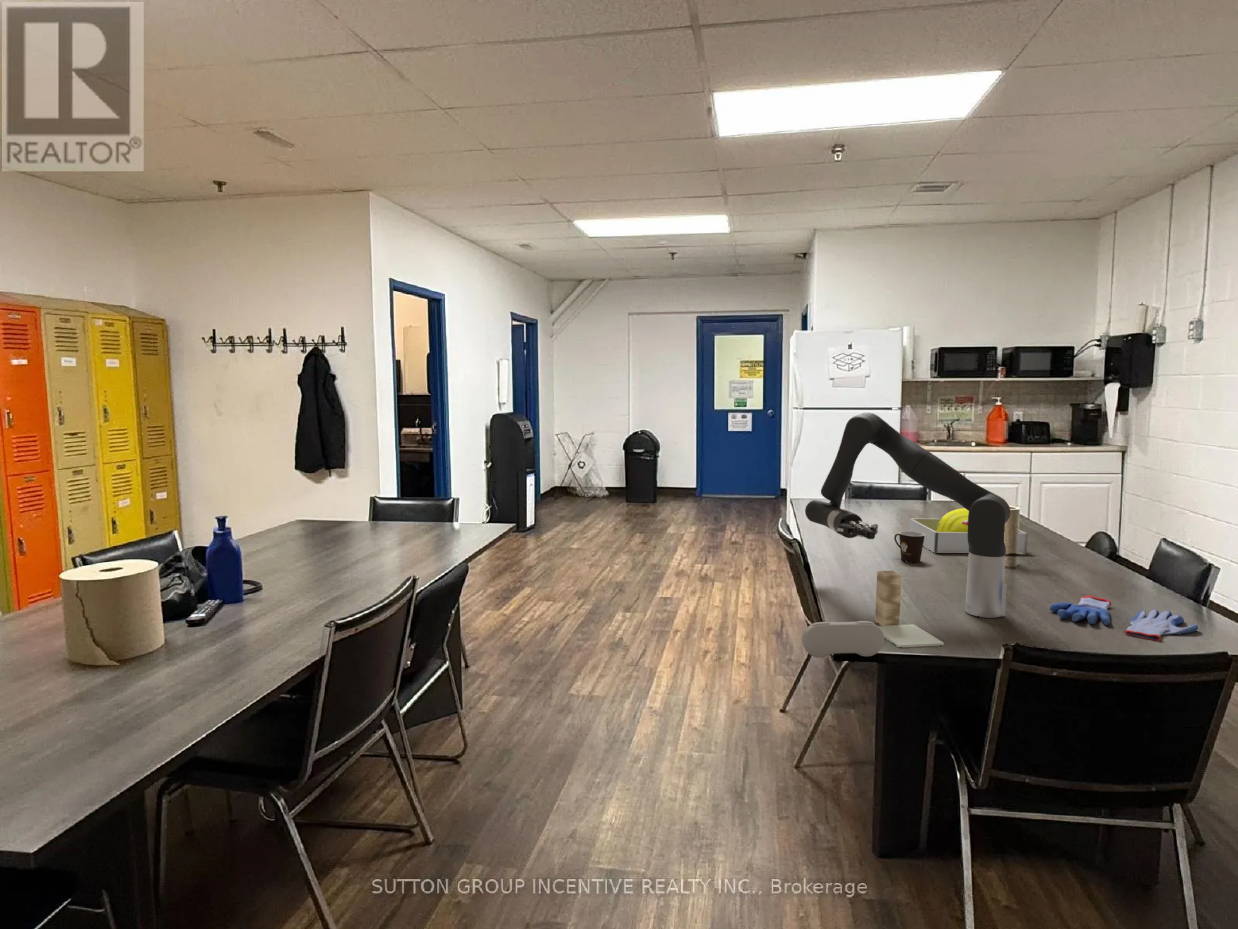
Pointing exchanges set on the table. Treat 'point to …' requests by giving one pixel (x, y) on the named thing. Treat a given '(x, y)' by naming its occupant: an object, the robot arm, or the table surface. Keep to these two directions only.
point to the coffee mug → (910, 545)
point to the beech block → (888, 598)
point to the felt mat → (909, 636)
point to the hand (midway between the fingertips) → (872, 535)
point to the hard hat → (954, 521)
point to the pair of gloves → (1140, 624)
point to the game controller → (842, 638)
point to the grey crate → (950, 537)
